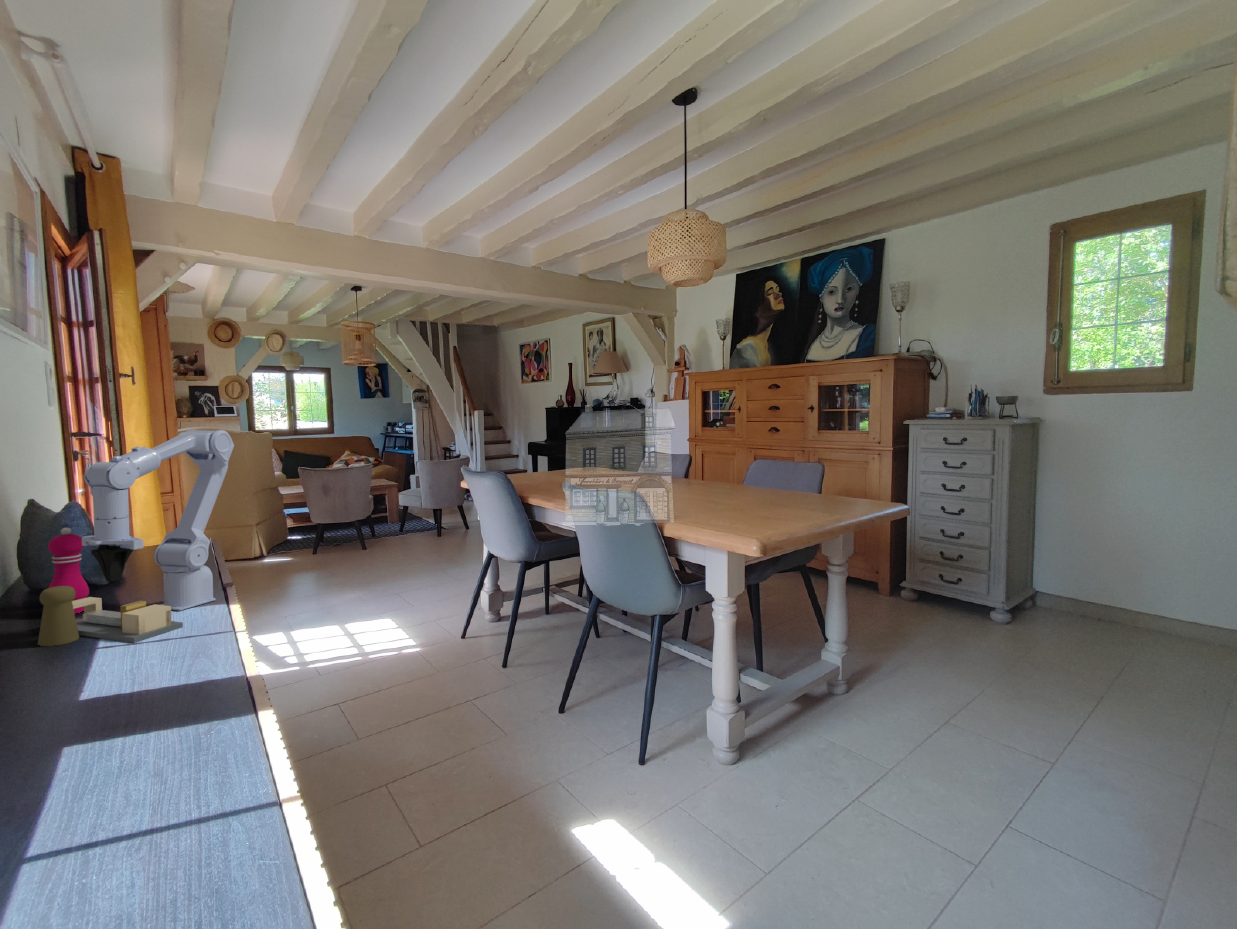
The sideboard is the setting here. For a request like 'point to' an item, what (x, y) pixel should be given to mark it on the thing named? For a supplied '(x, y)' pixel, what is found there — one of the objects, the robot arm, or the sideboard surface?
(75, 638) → the cork
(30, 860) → the sideboard surface
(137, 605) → the rod
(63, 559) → the pepper mill
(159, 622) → the jig board
